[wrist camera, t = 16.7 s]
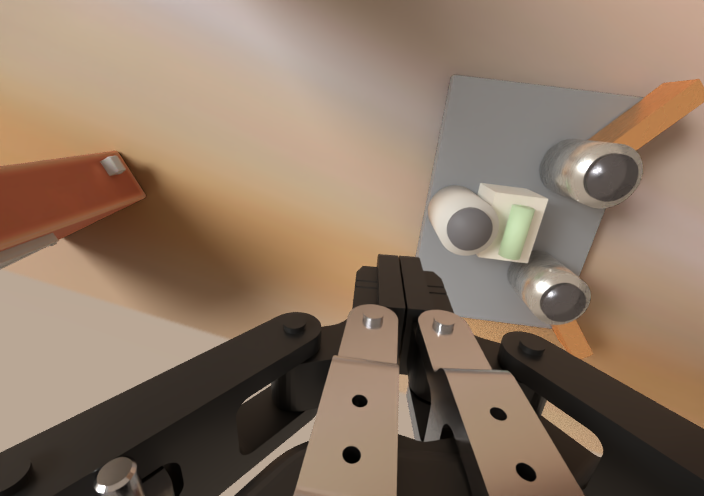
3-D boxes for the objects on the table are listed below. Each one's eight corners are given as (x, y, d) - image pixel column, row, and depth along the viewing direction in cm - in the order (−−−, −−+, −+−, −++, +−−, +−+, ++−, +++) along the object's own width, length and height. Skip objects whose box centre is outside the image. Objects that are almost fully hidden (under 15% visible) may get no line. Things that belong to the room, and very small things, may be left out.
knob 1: (499, 265, 36) (525, 296, 30) (545, 241, 35) (582, 268, 29) (545, 347, 40) (577, 389, 33) (589, 327, 38) (630, 368, 32)
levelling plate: (451, 76, 32) (475, 64, 24) (636, 98, 32) (719, 93, 24) (406, 303, 40) (414, 346, 33) (551, 322, 40) (593, 369, 33)
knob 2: (557, 203, 34) (598, 223, 28) (528, 164, 33) (565, 175, 26) (681, 114, 30) (760, 114, 24) (654, 67, 29) (729, 54, 23)
